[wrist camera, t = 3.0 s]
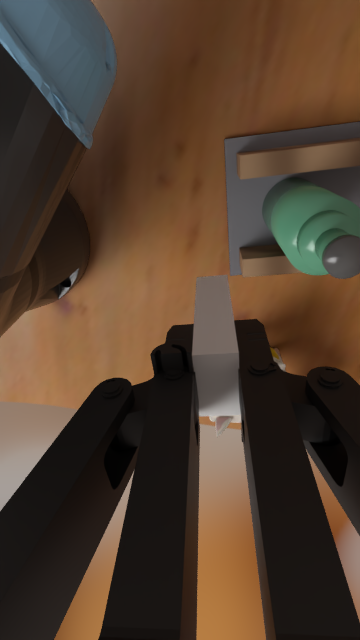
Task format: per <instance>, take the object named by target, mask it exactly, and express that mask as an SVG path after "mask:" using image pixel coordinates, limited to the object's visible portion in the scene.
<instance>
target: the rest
mask: <svg viewBox="0 0 360 640" xmlns="http://www.w3.org/2000/svg"><path fill="white" fill-rule="evenodd" d="M236 159H237V175H238V177H239V178H240V179H250V178H258V177H267V176H276V175H284V174H293V173H302V172H310V171H319V170H327V169H336V168H345V167H353V166H360V138H352V139H344V140H336V141H328V142H320V143H312V144H304V145H296V146H288V147H280V148H272V149H264V150H256V151H248V152H240V153H236ZM239 263H240V268H241V272H242V276H243V277H254V276H266V275H279V274H291V273H303V272H301V271H300V270H298V269H297V268H295V267H294V266H293V265H292V264H291V262H290V261H289V259H288V258H287V256H286V255H285V253H284V252H283V250H282V249H281V247H280V246H279V244H275V245H264V246H253V247H242V248H239Z"/></svg>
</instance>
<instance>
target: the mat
mask: <svg viewBox="0 0 360 640" xmlns="http://www.w3.org/2000/svg"><path fill="white" fill-rule="evenodd" d="M352 138H360V122H353V123H345V124H338V125H330V126H322V127H315V128H307V129H299V130H292V131H284V132H276V133H269V134H261V135H253V136H245V137H238V138H230V139H224V144H225V167H226V190H227V212H228V235H229V258H230V276H232V275H242V272H241V268H240V263H239V248H242V247H253V246H264V245H275V244H278V243H277V241H276V239H275V238H274V236H273V235H272V233H271V232H270V230H269V229H268V227H267V226H266V224H265V222H264V220H263V216H262V205H263V201H264V199H265V197H266V195H267V193H268V192H269V190H270V189H271V188H272V187H273V186H274V185H275V184H277V183H278V182H280V181H282V180H284V179H287V178H292V177H298V178H303V179H306V180H308V181H310V182H312V183H314V184H316V185H318V186H320V187H322V188H324V189H326V190H329V191H331V192H333V193H335V194H337V195H339V196H341V197H343V198H345V199H347V200H349V201H351V202H353V203H354V204H356V205H357V206H358V207H359V208H360V166H353V167H345V168H336V169H327V170H319V171H310V172H302V173H293V174H284V175H276V176H267V177H258V178H250V179H240V178H239V177H238V175H237V159H236V153H240V152H248V151H256V150H264V149H272V148H280V147H288V146H296V145H304V144H312V143H320V142H328V141H336V140H344V139H352Z"/></svg>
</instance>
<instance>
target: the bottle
mask: <svg viewBox="0 0 360 640" xmlns="http://www.w3.org/2000/svg"><path fill="white" fill-rule="evenodd" d="M262 216H263V220H264V222H265V224H266V226H267V227H268V229H269V230H270V232H271V233H272V235H273V236H274V238H275V239H276V241H277V243H278V244H279V246H280V247H281V249H282V250H283V252H284V253H285V255H286V256H287V258H288V259H289V261H290V262H291V264H292V265H293V266H294V267H295V268H297V269H298V270H300V271H301V272H304V273H306V274H310V275H326V274H330V275H331V276H333V277H335V278H340V279H346V278H350V277H353V276H355V275H357V274H359V273H360V208H359V207H358V206H357V205H356V204H354V203H353V202H351V201H349V200H347V199H345V198H343V197H341V196H339V195H337V194H335V193H333V192H331V191H329V190H326V189H324V188H322V187H320V186H318V185H316V184H314V183H312V182H310V181H308V180H306V179H303V178H298V177H292V178H287V179H284V180H282V181H280V182H278V183H277V184H275V185H274V186H273V187H272V188H271V189H270V190H269V192H268V193H267V195H266V197H265V199H264V201H263V205H262Z"/></svg>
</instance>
